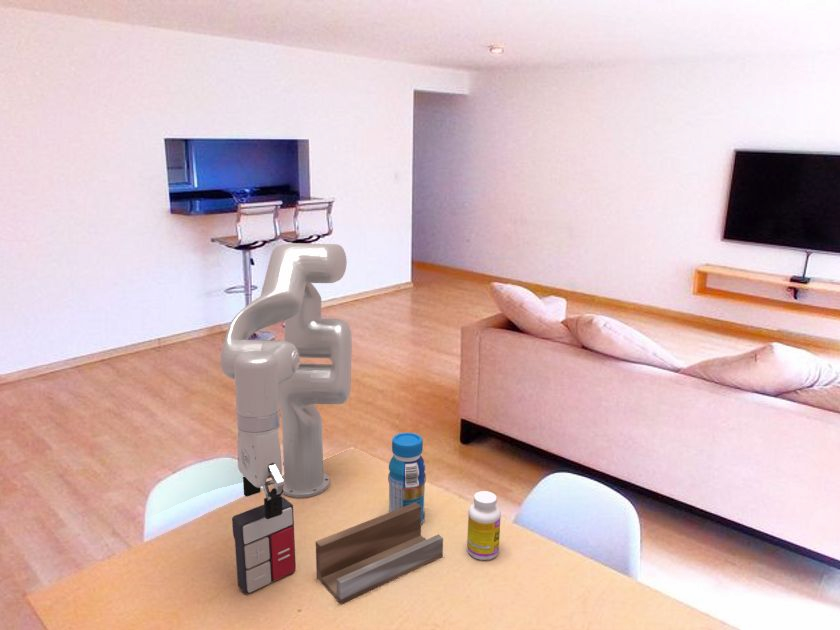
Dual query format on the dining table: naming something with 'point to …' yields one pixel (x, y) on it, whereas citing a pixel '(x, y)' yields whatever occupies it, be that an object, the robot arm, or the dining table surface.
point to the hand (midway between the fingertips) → (262, 504)
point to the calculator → (263, 546)
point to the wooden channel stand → (375, 553)
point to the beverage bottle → (407, 472)
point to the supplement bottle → (483, 526)
